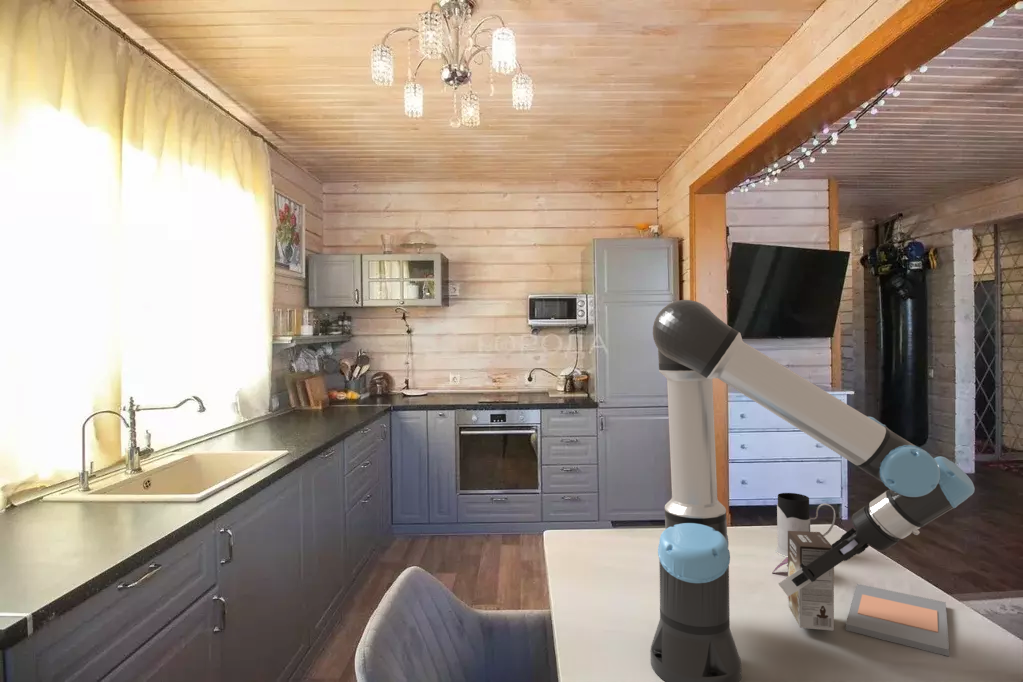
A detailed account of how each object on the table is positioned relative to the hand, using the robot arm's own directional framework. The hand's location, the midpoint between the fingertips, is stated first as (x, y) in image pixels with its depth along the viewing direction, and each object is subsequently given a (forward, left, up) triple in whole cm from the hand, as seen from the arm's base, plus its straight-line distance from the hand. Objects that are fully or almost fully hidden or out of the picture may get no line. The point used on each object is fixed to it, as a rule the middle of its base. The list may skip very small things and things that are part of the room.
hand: (794, 580), depth 115 cm
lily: (+24, +4, -8) cm, 26 cm away
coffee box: (0, -3, -7) cm, 7 cm away
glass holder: (+40, +4, -8) cm, 41 cm away
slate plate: (+13, -17, -8) cm, 22 cm away
